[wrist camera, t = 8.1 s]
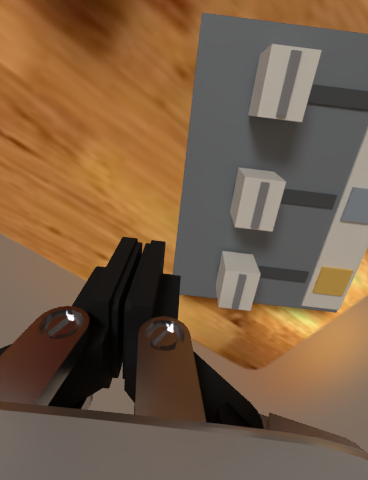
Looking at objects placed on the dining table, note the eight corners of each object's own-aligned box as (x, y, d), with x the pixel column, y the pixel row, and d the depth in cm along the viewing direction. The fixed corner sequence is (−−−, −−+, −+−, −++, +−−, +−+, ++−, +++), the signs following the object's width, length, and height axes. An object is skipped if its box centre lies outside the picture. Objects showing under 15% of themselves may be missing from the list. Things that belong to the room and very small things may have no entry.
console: (415, 55, 23) (463, 44, 19) (321, 290, 33) (338, 315, 29) (201, 27, 23) (202, 10, 19) (173, 273, 33) (170, 296, 29)
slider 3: (253, 254, 27) (261, 275, 23) (244, 288, 28) (250, 312, 25) (222, 250, 27) (226, 271, 23) (215, 284, 28) (218, 308, 25)
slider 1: (301, 59, 20) (323, 49, 16) (286, 119, 21) (303, 122, 18) (260, 54, 20) (273, 43, 16) (248, 115, 21) (257, 116, 18)
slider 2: (274, 171, 23) (287, 182, 20) (262, 215, 25) (273, 232, 22) (238, 167, 23) (245, 177, 20) (229, 211, 25) (235, 228, 21)
